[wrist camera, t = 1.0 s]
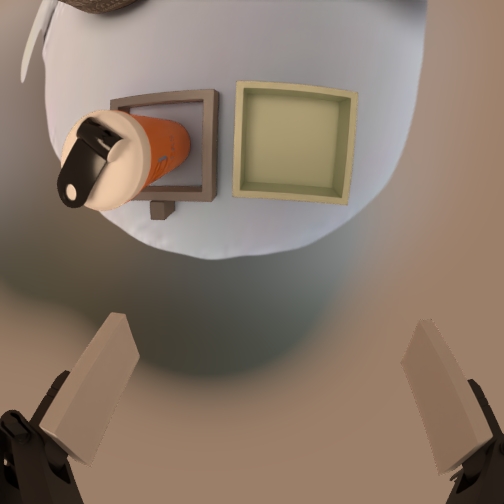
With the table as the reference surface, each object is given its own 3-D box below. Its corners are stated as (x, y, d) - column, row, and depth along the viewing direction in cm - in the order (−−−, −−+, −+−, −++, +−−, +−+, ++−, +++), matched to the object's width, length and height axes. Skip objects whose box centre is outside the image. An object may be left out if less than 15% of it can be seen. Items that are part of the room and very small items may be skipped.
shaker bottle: (129, 160, 37) (34, 194, 19) (154, 104, 33) (61, 96, 15) (180, 186, 38) (107, 240, 20) (208, 130, 35) (146, 133, 17)
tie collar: (122, 101, 33) (107, 99, 29) (218, 92, 32) (212, 88, 28) (126, 209, 40) (112, 218, 36) (216, 211, 39) (210, 221, 35)
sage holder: (241, 88, 32) (236, 80, 27) (344, 97, 32) (357, 92, 26) (238, 186, 38) (232, 196, 32) (336, 193, 37) (347, 205, 32)
